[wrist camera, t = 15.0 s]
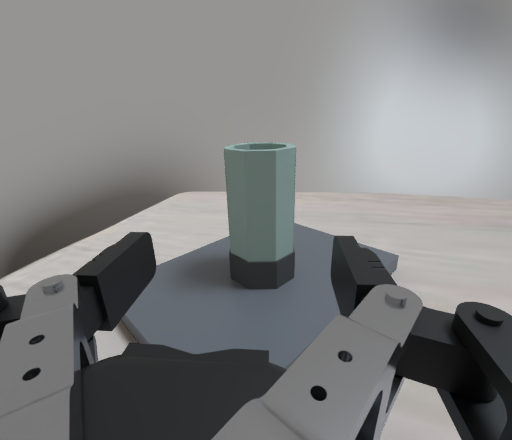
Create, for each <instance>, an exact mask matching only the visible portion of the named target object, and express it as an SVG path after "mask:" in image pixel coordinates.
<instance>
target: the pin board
mask: <svg viewBox="0 0 512 440" xmlns="http://www.w3.org/2000/svg"><path fill="white" fill-rule="evenodd" d="M333 239H334V235H331V234H327V233H324V232H321V231H318V230H315V229H311V228H308V227H305V226H302V225H299V224H295V223H294V241H293V246H294V250H295V269H294V278H293V279H291V280H290V281H288V282H287V283H285V284H284V285H282V286H281V287H279V288H278V289H247V288H245V287H244V286H242V285H240V284H239V283H237V282H236V281H234V280H232V279H231V275H230V260H229V251H230V236H228V237H226V238H223V239H221V240H218V241H216V242H214V243H211V244H209V245H206V246H204V247H201V248H199V249H196V250H194V251H192V252H189V253H187V254H184V255H182V256H179V257H177V258H174V259H172V260H170V261H167V262H165V263H162V264H160V265H157V266H156V272H155V275H154V277H153V279H152V280H151V281H150V283H149V284H148V285H147V287H146V288H145V289H144V290H143V292H142V293H141V294H140V296H139V297H138V298H137V299H136V301H135V302H134V303H133V305H132V306H131V307H130V308H129V310H128V311H127V312H126V314H125V315H124V316H123V317H122V319H121V321H122V322H123V323H124V325H125V326H126V327H127V328H128V330H129V331H130V332H131V334H132V335H133V336H134V337H135V339H136V340H137V341H138V342H139V343H140V344H159V345H165V346H169V347H172V348H175V349H178V350H182V351H185V352H188V353H192V354H201V353H208V352H214V351H221V350H227V349H233V348H234V349H253V350H269V362H270V363H273V364H276V365H278V366H280V367H283V368H285V369H288V368H289V367H290V366H291V365H292V364H293V363H294V362H295V361H296V360H297V358H298V357H299V356H300V355H301V354H302V353H303V352H304V351H305V350H306V348H307V347H308V346H309V345H310V344H311V343H312V342H313V341H314V340H315V338H316V337H317V336H318V335H319V334H320V333H321V332H322V331H323V330H324V329H325V327H326V326H327V325H328V324H329V323H330V322H331V321H332V320H333V319H334V317H335V316H337V315H338V314H340V310H339V307H338V304H337V300H336V297H335V293H334V290H333V286H332V283H331V260H332V249H333ZM358 245H359V246H360V248H368V249H369V250H371V251H372V252H374V253H375V254H377V256H378V257H379V259H380V260H381V263H383V265H384V266H385V269H387V271H388V272H389V274H390V275H391V274H392V273H393V272H394V271H395V270H396V267H397V262H398V257H399V256H398V255H395V254H392V253H389V252H385V251H382V250H379V249H376V248H372V247H369V246H366V245H363V244H360V243H358Z"/></svg>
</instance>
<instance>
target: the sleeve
mask: <svg viewBox="0 0 512 440" xmlns="http://www.w3.org/2000/svg"><path fill="white" fill-rule="evenodd" d="M224 158H225V174H226V189H227V204H228V219H229V234H230V251H229V260H230V275H231V279H232V280H234V281H236V282H237V283H239V284H240V285H242V286H244V287H245V288H247V289H278V288H279V287H281V286H282V285H284V284H285V283H287V282H288V281H290V280H291V279H293V278H294V269H295V250H294V246H293V241H294V204H295V166H296V147H295V146H294V145H293V144H287V143H273V142H270V143H244V144H236V145H228V146H227V147H225V148H224Z"/></svg>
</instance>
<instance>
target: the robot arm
mask: <svg viewBox="0 0 512 440" xmlns="http://www.w3.org/2000/svg"><path fill="white" fill-rule="evenodd" d="M155 272H156V260H155V255H154V249H153V243H152V238H151V235H150V234H149V233H148V232H130V233H129V234H127V235H126V236H125V237H124V238H122V239H121V240H120V241H119V242H117V243H116V244H114V245H112V246H110V247H108V248H106V249H105V250H104V251H102V252H101V253H100V254H99V255H97V256H96V257H95V258H93V259H92V261H89V262H88V263H87V264H86V265H84V266H83V267H82V268H80V269H79V270H78V271H77V272H75V273H74V274H73V275H67V274H65V275H58V276H53V277H50V278H47V279H44V280H42V281H40V282H38V283H36V284H35V285H33V286H32V287H31V288H30V289H29V290H28V291H27V293H26V294H25V295H18V296H12V297H7V296H6V294H5V292H4V289H3V287H2V286H1V285H0V440H380V437H381V434H382V431H383V428H384V425H385V423H386V421H387V418H388V416H389V414H390V411H391V409H392V407H393V405H394V402H395V400H396V398H397V396H398V393H399V391H400V389H401V387H402V384H403V382H404V380H405V378H408V379H411V380H414V381H417V382H420V383H423V384H426V385H429V386H432V387H435V388H437V391H438V393H439V395H440V397H441V399H442V401H443V403H444V405H445V407H446V409H447V411H448V413H449V415H450V417H451V419H452V421H453V423H454V425H455V427H456V429H457V431H458V433H459V435H460V437H461V439H462V440H512V316H511V315H510V314H508V313H506V312H504V311H502V310H500V309H498V308H496V307H493V306H490V305H487V304H483V303H478V302H464V303H461V304H459V305H458V306H457V308H456V312H455V314H451V313H446V312H442V311H437V310H433V309H429V308H426V307H423V303H422V301H421V299H420V298H419V297H418V296H417V295H416V294H415V293H413V292H412V291H410V290H408V289H406V288H403V287H400V286H397V284H396V283H395V281H394V280H393V278H392V277H391V275H390V274H389V272H388V271H387V269H385V266H384V265H383V263H381V260H380V259H379V257H378V256H377V254H375V253H374V252H372V251H371V250H369V249H368V248H360V246H359V245H358V243H357V241H356V240H355V238H354V236H334V239H333V249H332V260H331V283H332V286H333V290H334V293H335V297H336V300H337V304H338V307H339V310H340V314H338V315H337V316H335V317H334V319H333V320H332V321H331V322H330V323H329V324H328V325H327V326H326V327H325V329H324V330H323V331H322V332H321V333H320V334H319V335H318V336H317V337H316V338H315V340H314V341H313V342H312V343H311V344H310V345H309V346H308V347H307V348H306V350H305V351H304V352H303V353H302V354H301V355H300V356H299V357H298V358H297V360H296V361H295V362H294V363H293V364H292V365H291V366H290V367H289V368H288V369H285V368H283V367H280V366H278V365H276V364H273V363H270V362H269V350H253V349H234V348H233V349H227V350H221V351H214V352H208V353H201V354H192V353H188V352H185V351H182V350H178V349H175V348H172V347H169V346H165V345H159V344H140V343H129V344H128V346H127V348H126V349H125V351H124V352H123V354H122V355H117V356H113V357H109V358H107V359H104V360H101V361H98V355H97V346H96V339H95V336H94V333H95V332H96V331H97V330H100V331H112V330H113V329H114V328H115V327H116V325H117V324H118V323H119V321H120V320H121V319H122V317H123V316H124V315H125V314H126V312H127V311H128V310H129V308H130V307H131V306H132V305H133V303H134V302H135V301H136V299H137V298H138V297H139V296H140V294H141V293H142V292H143V290H144V289H145V288H146V287H147V285H148V284H149V283H150V281H151V280H152V279H153V277H154V275H155Z"/></svg>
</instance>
